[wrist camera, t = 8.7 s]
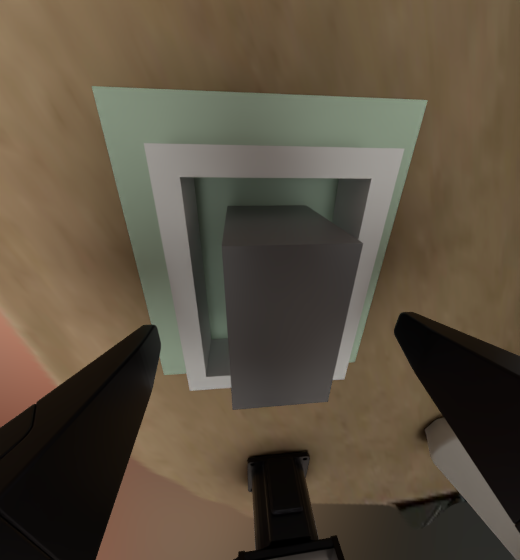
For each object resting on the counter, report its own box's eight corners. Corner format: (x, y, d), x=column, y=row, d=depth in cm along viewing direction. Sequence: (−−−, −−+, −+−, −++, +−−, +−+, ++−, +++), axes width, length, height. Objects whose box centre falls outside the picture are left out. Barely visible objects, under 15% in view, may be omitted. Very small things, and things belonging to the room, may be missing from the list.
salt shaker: (476, 424, 26) (668, 637, 14) (428, 448, 27) (569, 658, 16) (459, 402, 24) (674, 635, 12) (408, 429, 25) (557, 660, 13)
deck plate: (348, 352, 19) (375, 397, 15) (167, 363, 17) (150, 416, 14) (412, 104, 11) (493, 80, 8) (104, 92, 10) (32, 56, 6)
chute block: (295, 316, 15) (327, 401, 10) (233, 319, 15) (232, 409, 10) (306, 205, 12) (363, 243, 7) (227, 205, 12) (221, 246, 6)
